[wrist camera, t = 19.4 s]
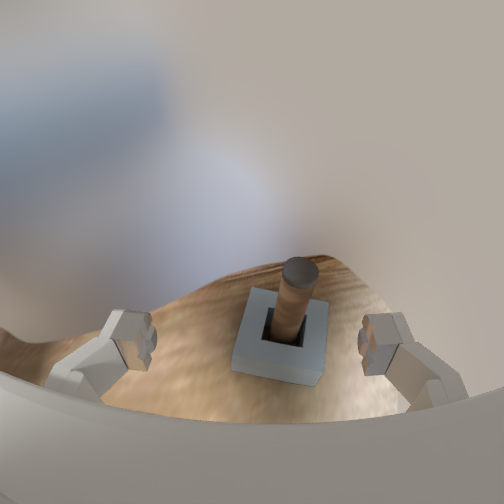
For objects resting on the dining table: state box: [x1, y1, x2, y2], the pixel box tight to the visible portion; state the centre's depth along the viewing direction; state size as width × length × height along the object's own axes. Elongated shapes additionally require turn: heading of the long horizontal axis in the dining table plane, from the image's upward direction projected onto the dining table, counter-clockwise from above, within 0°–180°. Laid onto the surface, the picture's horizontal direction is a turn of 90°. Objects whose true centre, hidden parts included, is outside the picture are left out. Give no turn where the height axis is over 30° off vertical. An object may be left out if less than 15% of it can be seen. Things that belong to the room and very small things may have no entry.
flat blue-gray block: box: [231, 287, 329, 387], centre depth 39 cm, size 11×11×4 cm
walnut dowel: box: [268, 257, 319, 346], centre depth 36 cm, size 4×4×15 cm
